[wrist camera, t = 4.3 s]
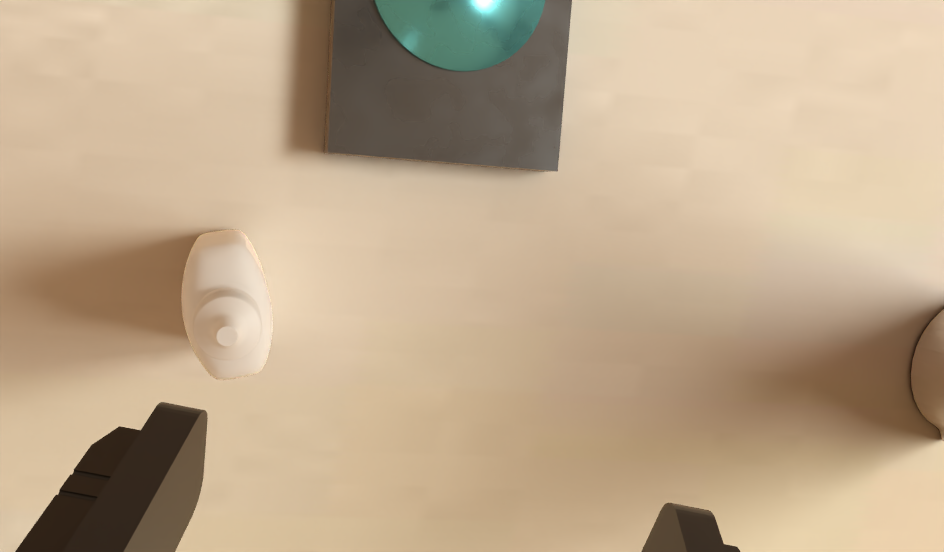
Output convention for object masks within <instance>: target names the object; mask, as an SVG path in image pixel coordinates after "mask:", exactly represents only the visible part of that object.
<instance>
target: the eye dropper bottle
mask: <svg viewBox="0 0 944 552" xmlns="http://www.w3.org/2000/svg"><path fill="white" fill-rule="evenodd" d="M181 304H182V315H183V321H184V325H185V329H186V333H187V336H188V339H189V341H190V344H191V346H192V348H193V350H194V352H195V354H196V356H197V358H198V359H199V361H200V362H201V364H202V365H203V367H204V368H205V369H206V371H207V372H208V373H209V374H210V375H211V376H212V377H214V378H216V379H220V380H228V379H234V378H240V377H245V376H249V375H254V374H256V373H258V372H260V371H261V370H262V368H263V367H264V366H265V363H266V361H267V358H268V355H269V351H270V346H271V341H272V332H273V314H272V305H271V300H270V295H269V291H268V287H267V283H266V280H265V277H264V273H263V270H262V267H261V264H260V261H259V258H258V256H257V254H256V252H255V250H254V248H253V246H252V244H251V243H250V241H249V239H248V238H247V237H246V235H245V234H244V233H243V232H241V231H240V230H235V229H231V230H222V231H214V232H208V233H204V234H202V235H200V236H199V237H198V238H197V240H196V241H195V243H194V245H193V247H192V249H191V251H190V253H189V256H188V259H187V262H186V266H185V270H184V275H183V282H182V293H181Z"/></svg>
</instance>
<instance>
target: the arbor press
mask: <svg viewBox="0 0 944 552" xmlns="http://www.w3.org/2000/svg"><path fill="white" fill-rule="evenodd" d="M571 4H572V0H331V19H330V40H329V60H328V81H327V101H326V122H325V142H324V153H328V154H340V155H352V156H364V157H377V158H389V159H401V160H413V161H425V162H438V163H450V164H462V165H474V166H486V167H499V168H511V169H523V170H535V171H558V160H559V148H560V136H561V124H562V112H563V100H564V88H565V76H566V64H567V52H568V40H569V28H570V16H571Z"/></svg>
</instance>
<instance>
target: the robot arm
mask: <svg viewBox="0 0 944 552" xmlns="http://www.w3.org/2000/svg"><path fill="white" fill-rule="evenodd" d="M911 385H912V391H913V396H914V400H915V402H916V404H917V406H918V408H919V410H920V412H921V413H922V414H923V416H924V417H925V418H926V419H927V420H928V421H929V422H931V423H932V424H933V425H935V426H936V427H937V428H938V429H939V430H940V433H941V437H942V440H943V441H944V310H942V311H941V312H940V313H939V314H938V315H937V316H936V317H935V318H934V319H933V320H932V321H931V322H930V323H929V325H928V326H927V328H926V329H925V331H924V332H923V334H922V336H921V338H920V340H919V342H918V344H917V347H916V350H915V354H914V357H913V361H912V369H911ZM206 432H207V412H206V411H205V410H200V409H195V408H190V407H185V406H179V405H174V404H169V403H164V402H161V403H159V404H158V405H157V406H156V408H155V409H154V411H153V412H152V414H151V415H150V417H149V419H148V420H147V422H146V423H145V425H144V426H143V428H142V429H141V431H140V430H135V429H130V428H125V427H120V426H119V427H118V428H116V429H115V430H113V431H112V432H111V433H109V434H108V435H106V436H105V437H103V438H102V439H100V440H99V441H97V442H96V443H94V444H93V445H91V447H90V448H89V449H88V451H87V452H86V454H85V455H84V456H83V458H82V459H81V461H80V462H79V463H78V465H77V466H76V468H75V469H74V472H73V474H72V475H70V476H69V477H68V479H67V480H66V482H65V483H64V484H63V486H62V487H61V489H60V491H59V494H58V495H56V496H55V497H54V498H53V500H52V501H51V503H50V504H49V505H48V507H47V508H46V510H45V511H44V512H43V514H42V515H41V517H40V518H39V519H38V521H37V522H36V524H35V525H34V526H33V528H32V529H31V531H30V532H29V533H28V535H27V536H26V537H25V539H24V540H23V542H22V543H21V544H20V546H19V547H18V549H17V550H16V551H15V552H175V551H176V548H177V546H178V544H179V542H180V540H181V538H182V536H183V534H184V532H185V530H186V528H187V526H188V523H189V521H190V519H191V517H192V515H193V513H194V510H195V508H196V505H197V502H198V499H199V495H200V491H201V487H202V482H203V473H204V459H205V446H206ZM642 552H740V550H739V549H738V548H737V547H735V546H730V545H725V544H723V541H722V538H721V535H720V532H719V529H718V526H717V523H716V520H715V517H714V515H713V514H712V512H711V511H709V510H704V509H699V508H694V507H688V506H683V505H678V504H673V503H666V504H665V505H664V506H663V508H662V509H661V511H660V513H659V515H658V517H657V520H656V522H655V524H654V526H653V528H652V530H651V532H650V535H649V537H648V539H647V541H646V543H645V545H644V547H643V550H642Z"/></svg>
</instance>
